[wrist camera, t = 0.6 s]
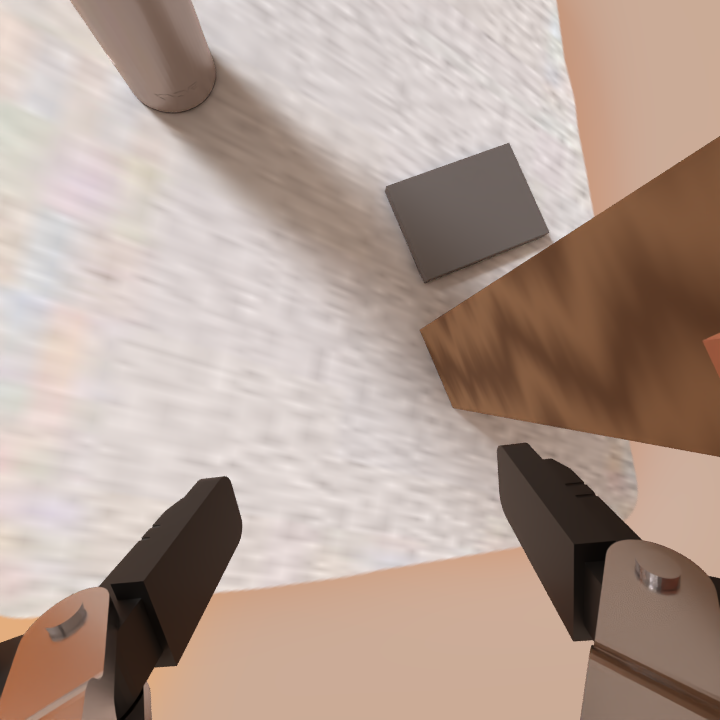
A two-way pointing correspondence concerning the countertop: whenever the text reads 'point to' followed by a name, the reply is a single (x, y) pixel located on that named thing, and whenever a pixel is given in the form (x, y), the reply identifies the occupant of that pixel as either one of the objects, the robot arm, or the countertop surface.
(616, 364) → the post
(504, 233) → the mat
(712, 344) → the rail
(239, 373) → the countertop surface
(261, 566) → the countertop surface
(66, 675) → the robot arm
